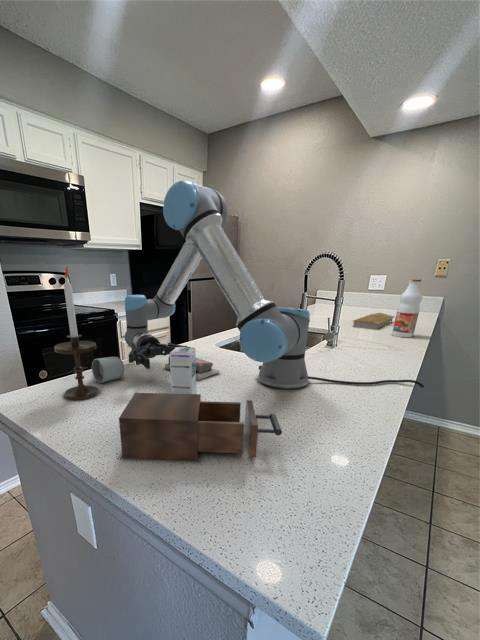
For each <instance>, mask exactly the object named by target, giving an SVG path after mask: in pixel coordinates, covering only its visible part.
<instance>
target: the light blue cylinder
mask: <svg viewBox="0 0 480 640" xmlns="http://www.w3.org/2000/svg"><path fill="white" fill-rule="evenodd" d="M91 373H92V376H93V378H94V380H95V381H96V382H97V383H99V384H102V383H103V384H104V383H106V382H110V381H113V380H117V379H119V378H121V377H123V376H124V373H125V364H124V363H123V360H122V359H121V357H119V356H108V357H99V358H94V359H93V361H92V363H91Z"/></svg>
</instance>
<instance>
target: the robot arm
mask: <svg viewBox="0 0 480 640" xmlns="http://www.w3.org/2000/svg"><path fill="white" fill-rule="evenodd" d="M162 213H163V218H164V221H165V223H166V224H167V225H168V227H169V228H172V229H173V230H175V231H179V232H180V234H181V236H182V237H183V239H184V241H185V242H184V243H183V245H182V247H181V249H180V250H179V252H178V255H176V258H175V260H174V262H173V263H172V265H171V267H170V269H169V270H168V272H167V274H166V276H165V278H164V279H163V281H162V283H161V285H160V287H159V288H158V290H157V292H156V294H155V296H154V297H153V298H148V299H147V297H146V295H144V294H128V295H126V296H125V298H124V310H125V323H126V331H125V333H124V341H125V343H126V344H127V346H128V347H129V348H131V350H130V351H129V353H128V363H129V364H133V363H134V362H135V365H136V366H140V365H142V366H143V367H144V368H145V369H147V370H150V369H151V360H150V359H153V358H155V357H158V356H165V357H166V356H168V355H169V356H170V352H171V351H172V350H174V349H175V347H188V346H187V345H182V344H176V343H172V342H168V343H167V344H166V343H161V341H160V340H159V339H158V338H157V337H155V336H154V335H153V334H150V333H149V330H148V329H149V327H148V326H149V324H148V321H153V320H159V319H165V318H168V317H171V316H172V315H174V313H175V312H176V302H177V300H178V298H179V296H180V295H181V293H182V292H183V290H184V288H185V287H186V285H187V284H188V282H189V280H190V279H191V277H192V276H193V274H194V272H195V271H196V269H197V268H198V266H199V265H200V263H201V261H202V260H203V261H204V263H205V266H206V267H207V268H208V270H209V271H210V273H211V275H212V276H213V278H214V280H215V281H216V283H217V285H218V286H219V289H220V290H221V292H222V294H223V295H224V297H225V298H226V300H227V302H228V303H229V305H230V306H231V308H232V310H233V311H234V313H235V315H236V317H237V321H236V327H237V329H238V331H239V338H238V340H239V346H240V348H241V349H240V350H242V352H243V353H244V355H246V356H247V358H248V359H251V360H252V361H254V362H258V363H262V364H261V365H258V371H259V372H258V381H259V382H260V383H261V384H263V385H265V386H267V387H270V388H274V389H280V390H281V389H282V390H283V389H284V390H294V389H295V390H296V389H300V388H304V387H306V386H307V385H308V382H309V380H314V381H321V382H328V383H335V384H345V385H359V386H361V385H362V386H368V385H378V384H388V383H397V384H398V383H412V384H416V385H418V386H419V387H420V388H425V385H423V384H422V383H421V382H420V381H417V380H415V379H383V380H376V381H349V380H348V381H347V380H337V379H330V378H323V377H317V376H310V375H309V374H308V369H307V364H306V360H305V357H306V350H307V342H308V335H309V327H310V322H311V319H310V317H311V316H310V315H311V313H310V310H308V309H306V308H295V307H294V308H293V307H283V306H281V307H279V306H277V304H276V303H275V301H272V300H268V299H265V297H264V294H262V292H261V290H260V287H258V285H257V284H256V281H255V280H254V279H253V277H252V275H251V273H250V271H249V270H248V269H247V266H246V264H244V262H243V260H242V258H241V257H240V255H239V254H238V252H237V250H236V249H235V247H234V246H233V244H232V243H231V241H230V239H229V237H228V236H227V234H226V233H225V231H224V229H225V226H226V224H227V222H228V221H227V220H228V213H229V212H228V204H227V202H226V199H225V197H224V196H223V195H222V194H221V193H220V192H219V191H217V190H216V189H214V188H209V187H206V186H203V185H200V184H198V183H195V182H194V181H190V180H179V181H176V182H174V183H173V184H172V185H171V186H170V187H169V188H168V190H167V192H166V194H165V196H164V200H163V206H162Z"/></svg>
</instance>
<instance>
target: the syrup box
mask: <svg viewBox="0 0 480 640" xmlns="http://www.w3.org/2000/svg"><path fill="white" fill-rule="evenodd" d="M196 355H197V354H196V347H192V346H187V347H175V349H174V350H172V351H171V352H170V355H169V356H170V369H169V370H170V373H169V374H170V391H171V392H170V394H197V379H196V358H197V357H196Z"/></svg>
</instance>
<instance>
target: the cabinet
mask: <svg viewBox="0 0 480 640" xmlns="http://www.w3.org/2000/svg"><path fill="white" fill-rule="evenodd" d="M200 401H202V394H199V393H196V394H171V393H166V392H165V393H163V392H161V393H160V392H134V393H133V395H132V397H131V398H130V400H129V401H128V403H127V405H126V406H125V408H124V409H123V410H122V412H121V414H120V416H119V417H118V424H119V437H120V446H121V447H120V448H121V455H122V456H121V458H123V459H145V460H169V461H170V460H171V461H195V462H197V461H198V460H199V459H198V458H199V452H198V416H199V408H200Z"/></svg>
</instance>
